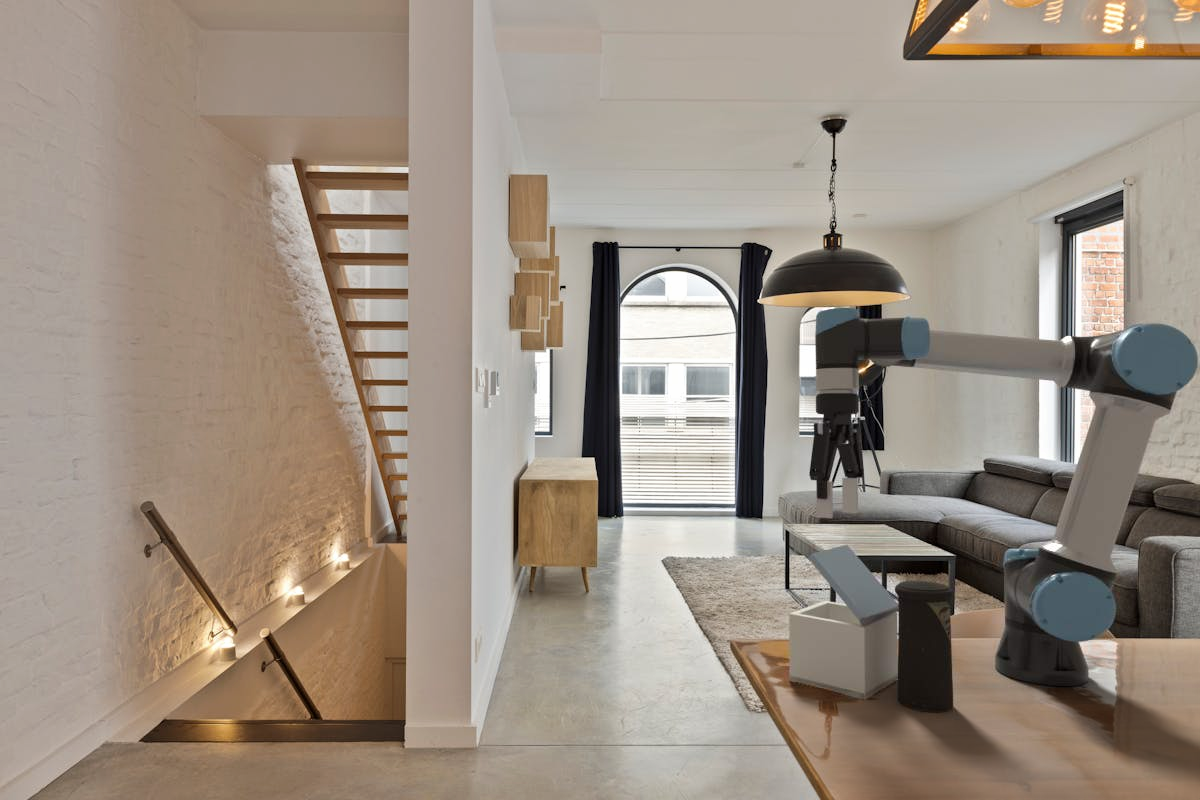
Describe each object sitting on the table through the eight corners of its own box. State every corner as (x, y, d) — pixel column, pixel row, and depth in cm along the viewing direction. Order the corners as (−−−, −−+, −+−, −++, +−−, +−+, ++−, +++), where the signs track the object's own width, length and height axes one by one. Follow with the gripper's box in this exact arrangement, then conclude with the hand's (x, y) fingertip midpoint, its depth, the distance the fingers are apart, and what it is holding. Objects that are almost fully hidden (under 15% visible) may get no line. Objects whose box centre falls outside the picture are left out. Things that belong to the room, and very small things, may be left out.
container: (960, 715, 123) (958, 588, 123) (900, 711, 125) (899, 586, 125) (947, 697, 131) (946, 578, 132) (891, 693, 133) (890, 576, 134)
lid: (806, 558, 137) (811, 553, 137) (843, 548, 148) (847, 544, 147) (863, 627, 130) (869, 623, 129) (897, 612, 140) (903, 608, 140)
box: (897, 679, 140) (897, 613, 140) (864, 699, 130) (864, 627, 130) (825, 663, 149) (825, 600, 150) (789, 680, 139) (789, 613, 139)
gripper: (844, 395, 153) (845, 508, 152) (788, 391, 136) (788, 518, 135) (882, 394, 147) (882, 511, 147) (828, 390, 131) (829, 522, 130)
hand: (837, 515), depth 141 cm, fingers open, 10 cm apart
